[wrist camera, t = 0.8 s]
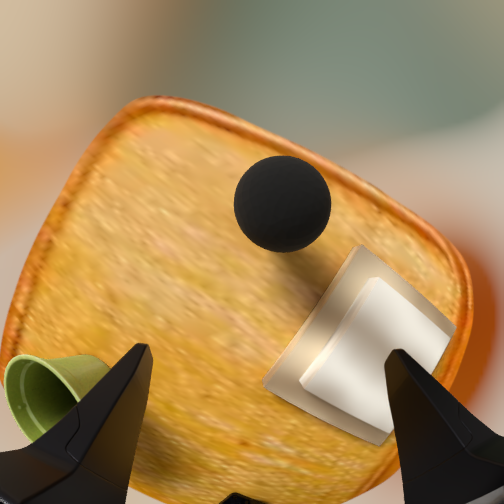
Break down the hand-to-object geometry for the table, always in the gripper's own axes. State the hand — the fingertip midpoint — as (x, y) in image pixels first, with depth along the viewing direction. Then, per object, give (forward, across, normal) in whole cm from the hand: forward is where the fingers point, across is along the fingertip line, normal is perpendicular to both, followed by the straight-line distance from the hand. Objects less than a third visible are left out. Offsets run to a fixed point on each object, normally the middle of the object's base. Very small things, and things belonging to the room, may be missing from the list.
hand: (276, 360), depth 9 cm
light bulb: (+16, -1, +3) cm, 16 cm away
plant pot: (+6, +15, +15) cm, 22 cm away
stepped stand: (+9, -11, +11) cm, 18 cm away
